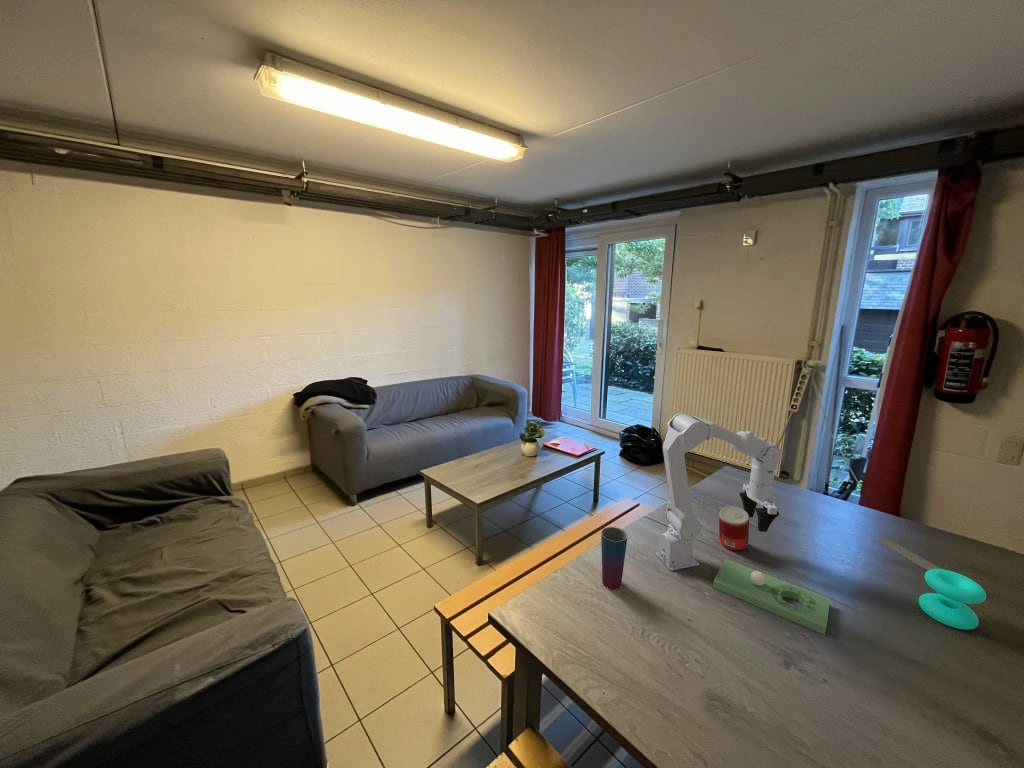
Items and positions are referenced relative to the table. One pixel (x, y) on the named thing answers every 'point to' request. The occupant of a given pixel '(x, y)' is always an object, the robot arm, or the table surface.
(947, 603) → the donuts
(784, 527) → the table surface
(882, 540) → the half round rod
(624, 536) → the cup
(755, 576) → the ball
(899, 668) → the table surface
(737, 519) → the canned food
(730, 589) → the green
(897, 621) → the table surface
